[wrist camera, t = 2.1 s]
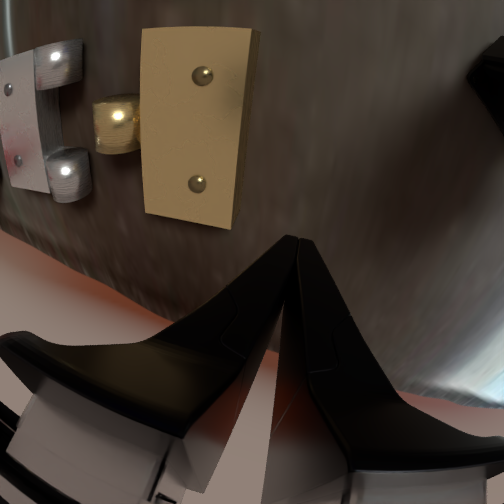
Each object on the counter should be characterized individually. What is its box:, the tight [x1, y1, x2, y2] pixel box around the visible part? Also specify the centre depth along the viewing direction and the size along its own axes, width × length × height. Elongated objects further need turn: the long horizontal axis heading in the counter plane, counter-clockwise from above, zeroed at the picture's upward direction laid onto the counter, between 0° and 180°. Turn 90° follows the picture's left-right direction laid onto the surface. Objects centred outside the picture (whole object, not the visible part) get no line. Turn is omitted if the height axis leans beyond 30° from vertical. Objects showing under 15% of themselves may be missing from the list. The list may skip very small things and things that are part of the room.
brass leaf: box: [92, 27, 261, 230], centre depth 18 cm, size 13×11×4 cm
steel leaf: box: [0, 39, 93, 203], centre depth 19 cm, size 13×11×4 cm
